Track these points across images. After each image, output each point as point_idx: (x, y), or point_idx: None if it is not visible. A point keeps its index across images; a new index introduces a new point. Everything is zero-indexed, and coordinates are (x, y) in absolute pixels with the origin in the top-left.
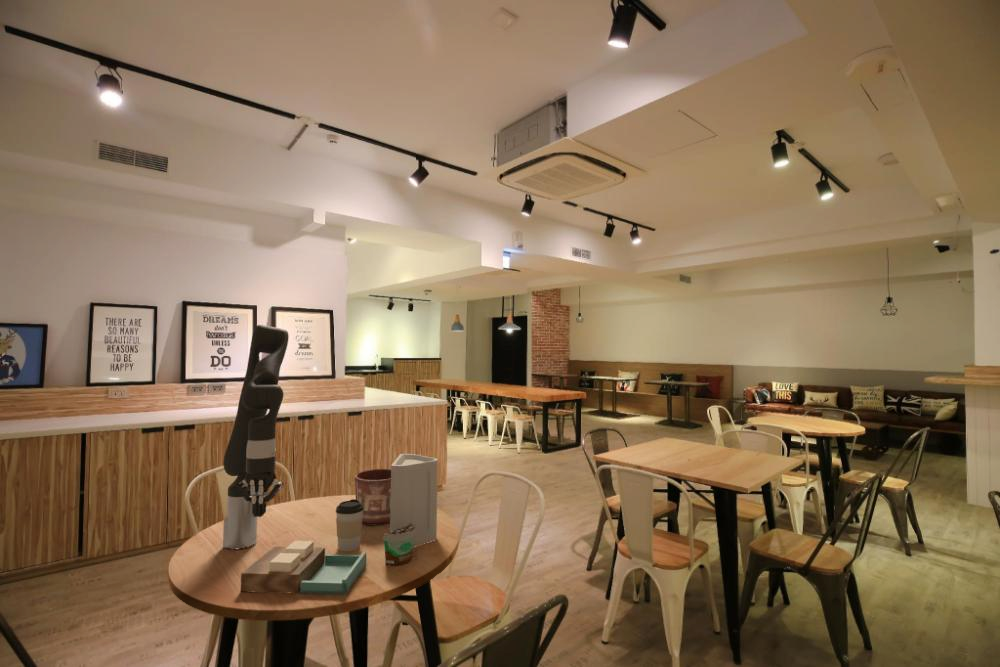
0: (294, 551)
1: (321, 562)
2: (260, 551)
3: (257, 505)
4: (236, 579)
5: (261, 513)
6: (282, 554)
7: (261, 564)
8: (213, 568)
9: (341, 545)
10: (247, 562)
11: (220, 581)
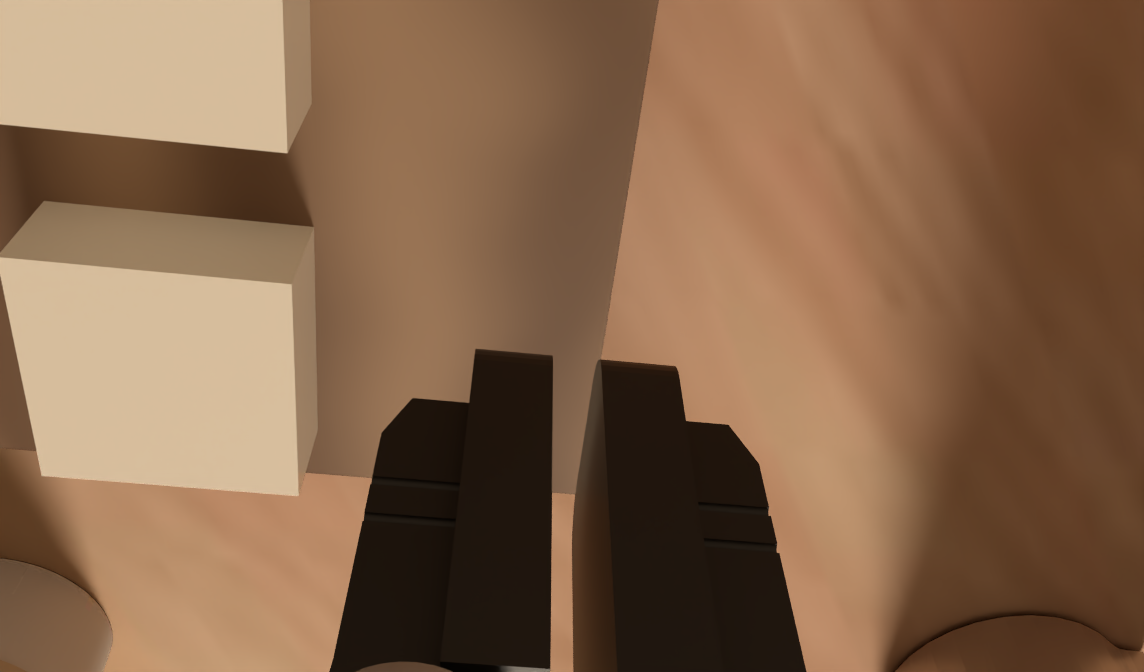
0: (164, 253)
1: None
2: (790, 583)
3: (601, 654)
4: (831, 55)
5: (444, 429)
6: (226, 103)
7: (524, 36)
8: (1137, 303)
9: (16, 603)
10: (839, 401)
11: (993, 18)
